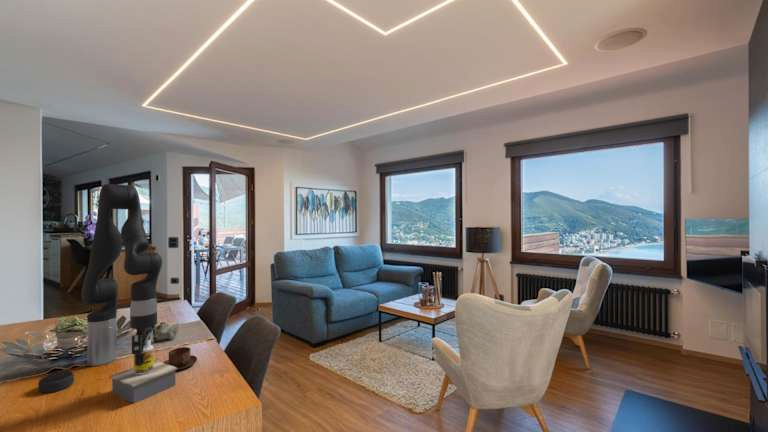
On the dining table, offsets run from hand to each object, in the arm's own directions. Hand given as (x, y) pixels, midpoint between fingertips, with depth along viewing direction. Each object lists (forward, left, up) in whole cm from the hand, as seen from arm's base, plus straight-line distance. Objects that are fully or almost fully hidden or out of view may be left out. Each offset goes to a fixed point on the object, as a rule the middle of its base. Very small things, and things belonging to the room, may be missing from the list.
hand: (144, 359), depth 117 cm
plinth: (0, 0, -10) cm, 10 cm away
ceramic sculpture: (-43, +30, -10) cm, 54 cm away
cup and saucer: (-7, +17, -10) cm, 21 cm away
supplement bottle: (0, 0, -4) cm, 4 cm away
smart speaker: (-29, -13, -10) cm, 33 cm away
